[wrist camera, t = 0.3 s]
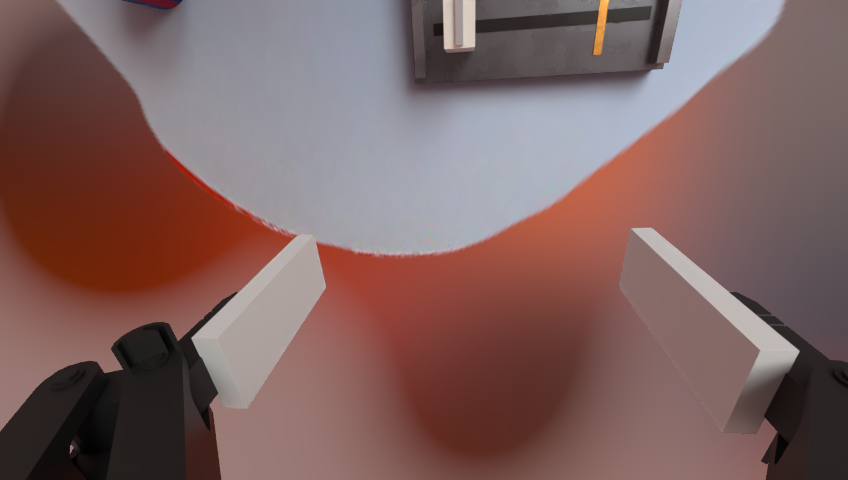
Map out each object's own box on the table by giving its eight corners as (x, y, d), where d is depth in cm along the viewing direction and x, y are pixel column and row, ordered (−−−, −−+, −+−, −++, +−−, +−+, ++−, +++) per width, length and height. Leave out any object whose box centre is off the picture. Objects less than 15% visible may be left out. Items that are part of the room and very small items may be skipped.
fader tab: (446, 2, 31) (442, -12, 26) (473, 0, 31) (475, -15, 26) (447, 53, 32) (443, 48, 28) (473, 51, 32) (475, 46, 27)
